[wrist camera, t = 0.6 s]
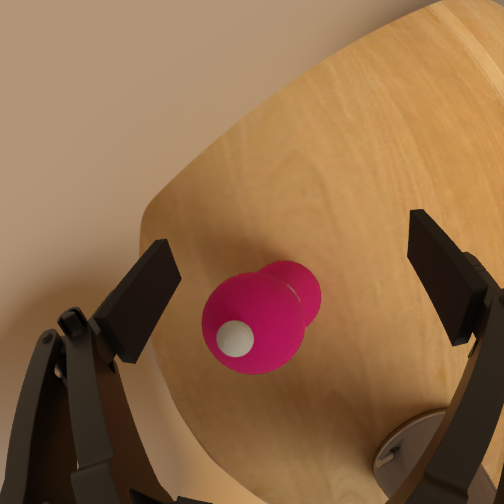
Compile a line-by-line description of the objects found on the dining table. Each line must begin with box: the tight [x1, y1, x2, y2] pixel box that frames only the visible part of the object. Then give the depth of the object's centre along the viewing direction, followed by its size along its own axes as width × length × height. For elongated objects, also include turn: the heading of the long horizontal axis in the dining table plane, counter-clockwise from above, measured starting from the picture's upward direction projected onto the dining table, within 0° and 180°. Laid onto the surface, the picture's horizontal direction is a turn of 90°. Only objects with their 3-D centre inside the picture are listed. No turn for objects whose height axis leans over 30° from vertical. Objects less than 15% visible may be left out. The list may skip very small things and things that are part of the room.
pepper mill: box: [202, 261, 321, 374], centre depth 22 cm, size 7×7×20 cm
